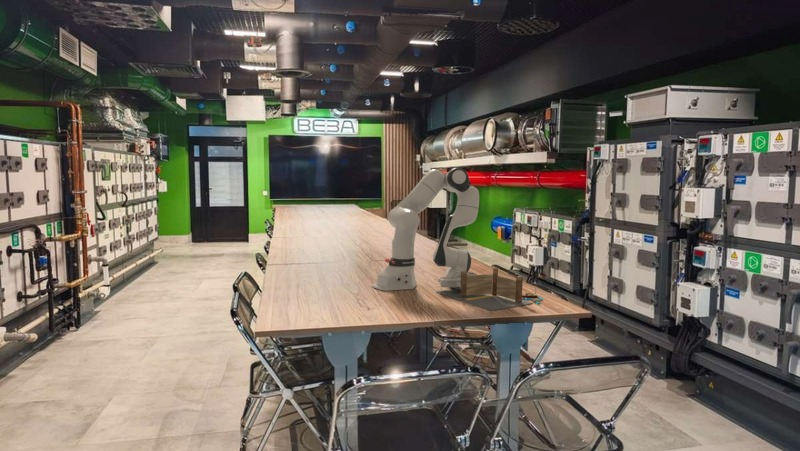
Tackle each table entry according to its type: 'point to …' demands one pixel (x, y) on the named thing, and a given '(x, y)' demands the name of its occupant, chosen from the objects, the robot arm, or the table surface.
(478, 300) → the board
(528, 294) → the gear mechanism
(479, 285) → the fence panel
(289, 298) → the table surface
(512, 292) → the fence fixed
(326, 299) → the table surface
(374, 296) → the table surface
